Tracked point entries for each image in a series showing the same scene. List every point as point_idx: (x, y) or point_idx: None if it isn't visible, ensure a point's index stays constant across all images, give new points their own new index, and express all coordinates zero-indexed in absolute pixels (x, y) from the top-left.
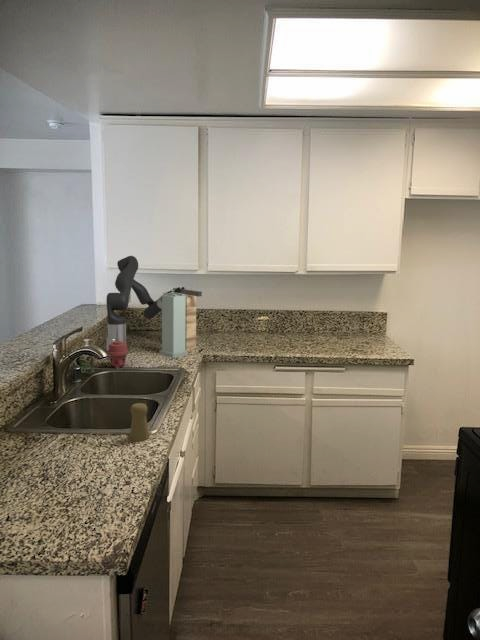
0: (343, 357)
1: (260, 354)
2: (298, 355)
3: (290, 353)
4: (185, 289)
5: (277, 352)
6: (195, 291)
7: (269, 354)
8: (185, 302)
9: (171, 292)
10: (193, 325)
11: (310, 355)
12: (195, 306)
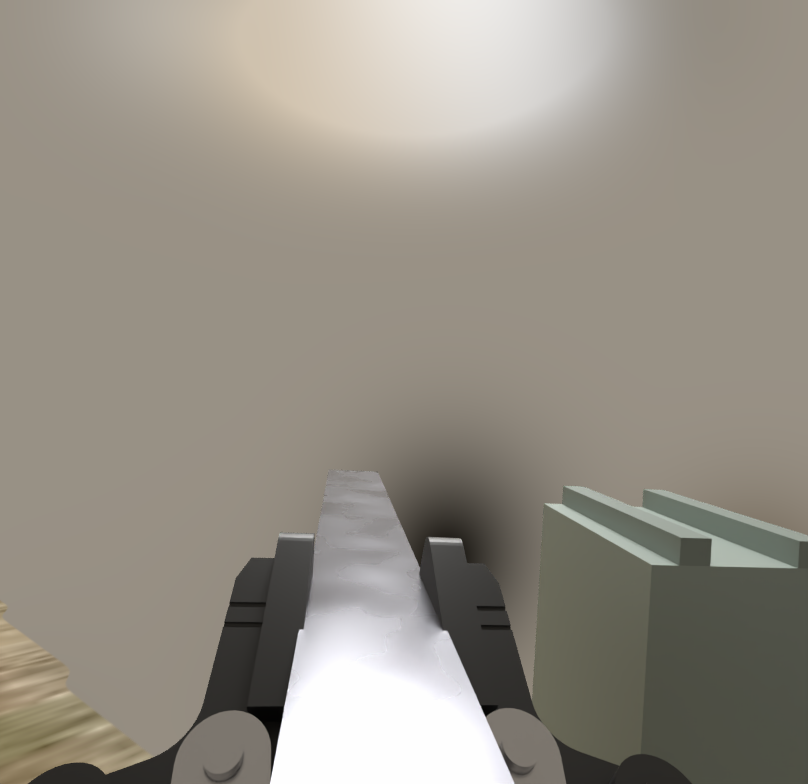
0: (5, 610)
1: (106, 763)
2: (39, 677)
3: (5, 706)
4: (351, 539)
5: (5, 744)
6: (379, 479)
7: (81, 741)
8: (540, 568)
9: (694, 532)
10: None
11: (16, 659)
12: None
